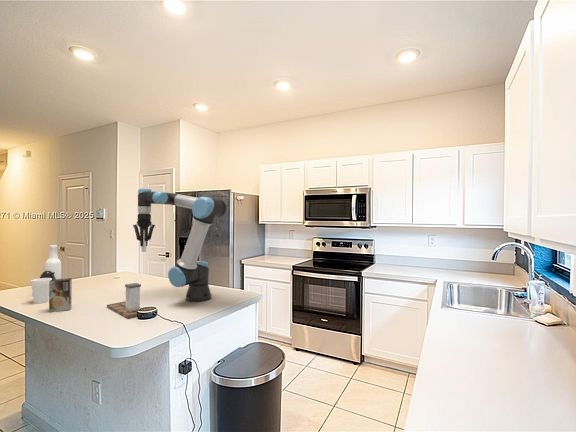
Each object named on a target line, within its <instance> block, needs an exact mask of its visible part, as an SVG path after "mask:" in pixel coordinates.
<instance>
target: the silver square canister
mask: <svg viewBox="0 0 576 432" xmlns="http://www.w3.org/2000/svg"><path fill="white" fill-rule="evenodd" d="M124 287H125V301H126V306H125V310H126V311H128V312H133V311H137V310H140V308H141V306H140V305H141V302H140V301H141V300H140V299H141V297H140V296H141V287H142V284H141V283H138V282H134V283H127V284H124Z"/></svg>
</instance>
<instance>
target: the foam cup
mask: <svg viewBox="0 0 576 432" xmlns="http://www.w3.org/2000/svg"><path fill="white" fill-rule="evenodd" d="M50 280H52V278H40V277H39V278H34V279H31V280H30V285H31V291H32V297H33V299H32V300H33V303H34V304H35V305H36V304H37V305H38V304H39V305H40V304H46V303H49V282H50Z"/></svg>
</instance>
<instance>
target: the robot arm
mask: <svg viewBox="0 0 576 432" xmlns="http://www.w3.org/2000/svg"><path fill="white" fill-rule="evenodd" d="M152 205H168V206H169V205H171V206H176V207H181V208H187V209H190V210H191V211H192V215H193V216H192V219H193V224H192V227H191V229H190V232H189V235H188V238H187V240H186V243H185V247H184V249H183V252H182V255H181V257H180V258H179V259H177V261H176V262H175V266H173V267H170V268H169V270H168V272H167V276H168V280H169V283H170V284H171V286H173V287H175V288H182V287H185V286H188V288H187V290H186V293H185V300H186V301H187V302H195V303H196V302H205V301H209V300H211V299H212V293H211V289H210V287H209V281H210V280H209V277H210V276H209V275H210V273H209V270H210V266H209V265H210V264H209V262H208V261H205V260H204V261H203V260H202V261H201V260H198V258H199V255H200V253H201V250H202V247H203V246H204V245H203V244H204V242H205V238H206V237H207V233H208V231H209V228H210V226H212V225H214V222H215V220H216V219H221V218H223V217H224V216H226V215H227V213H228V210H229V208H228V204H227V202H226V201H225V200H224V199H222V198H217V197H210V196H209V197H208V196H201V197H197V196H196V197H195V196H190V195H184V194H179V193H175V192H165V191H160V190H158V191H157V190H156V191H152V189H151V188H145V187H143V188H138V191H137V213H138V214H137V221H136V223H135V224H132V227H133V229H134V232H135V236H136V240H137V241H139V242H140V243H139V246H140V247H141V252H143V253H145V252H147V246H148V242H149V241H151V239H152V235H153V231H154V228H155V227H156V225H155V224H153V223H152V214H151V213H152Z"/></svg>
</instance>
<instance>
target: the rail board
mask: <svg viewBox="0 0 576 432" xmlns="http://www.w3.org/2000/svg"><path fill="white" fill-rule="evenodd" d="M125 306H126V300H124V301H120V302H114V303H108V304H106V308H107V309H109V310H111V311H112V312H114V313H117V314H118V315H120V316H121V317H123V318H125V319H126V320H130V319H134V318H138V317H137V312H138V310H137V311H133V312H128V311H126V310H125ZM140 309H143V308H142V307H140Z"/></svg>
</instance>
